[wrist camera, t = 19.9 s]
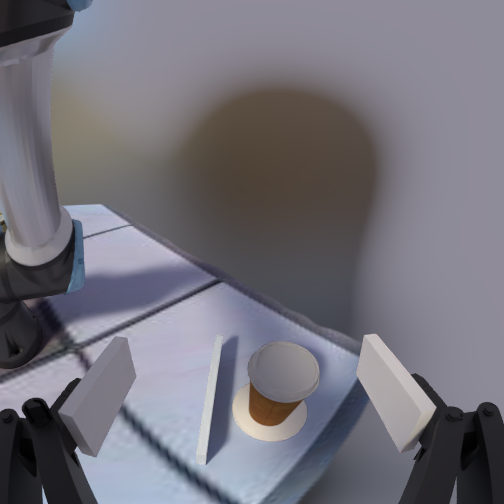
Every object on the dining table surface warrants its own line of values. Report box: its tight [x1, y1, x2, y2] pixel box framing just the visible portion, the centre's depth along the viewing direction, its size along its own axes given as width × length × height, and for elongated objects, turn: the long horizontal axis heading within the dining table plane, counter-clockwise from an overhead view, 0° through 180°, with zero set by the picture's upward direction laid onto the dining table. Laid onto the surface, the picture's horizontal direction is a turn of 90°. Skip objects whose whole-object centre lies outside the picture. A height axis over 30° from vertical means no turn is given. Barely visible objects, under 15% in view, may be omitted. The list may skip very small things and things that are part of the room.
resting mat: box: [232, 383, 307, 442], centre depth 39 cm, size 12×12×1 cm
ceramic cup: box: [0, 212, 7, 232], centre depth 61 cm, size 13×10×10 cm
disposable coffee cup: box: [248, 341, 320, 426], centre depth 35 cm, size 10×10×12 cm
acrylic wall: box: [196, 334, 223, 465], centre depth 37 cm, size 22×1×5 cm, turn 178°
